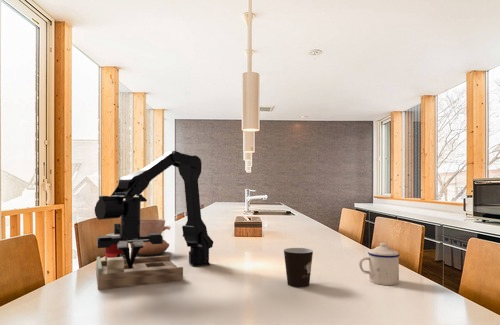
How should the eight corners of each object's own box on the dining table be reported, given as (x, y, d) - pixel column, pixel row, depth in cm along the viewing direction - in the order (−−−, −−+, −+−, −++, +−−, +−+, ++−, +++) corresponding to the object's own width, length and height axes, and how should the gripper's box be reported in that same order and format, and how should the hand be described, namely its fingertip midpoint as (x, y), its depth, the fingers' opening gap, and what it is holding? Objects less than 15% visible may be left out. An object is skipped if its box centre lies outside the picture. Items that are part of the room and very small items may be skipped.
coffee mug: (294, 290, 103) (294, 254, 104) (278, 282, 111) (278, 249, 112) (327, 285, 109) (327, 250, 109) (309, 278, 116) (309, 246, 117)
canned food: (120, 268, 128) (121, 236, 129) (100, 267, 130) (101, 235, 131) (132, 263, 136) (132, 233, 137) (112, 262, 138) (113, 232, 138)
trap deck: (169, 266, 131) (169, 251, 131) (182, 280, 112) (183, 262, 113) (96, 273, 121) (96, 256, 121) (97, 289, 103) (98, 269, 103)
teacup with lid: (393, 278, 117) (393, 241, 118) (404, 286, 108) (403, 246, 109) (355, 277, 118) (355, 240, 118) (363, 285, 109) (362, 245, 109)
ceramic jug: (172, 250, 163) (172, 217, 163) (169, 256, 148) (168, 220, 149) (130, 251, 161) (130, 218, 161) (122, 258, 146) (122, 222, 147)
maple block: (122, 271, 113) (122, 256, 114) (123, 275, 109) (124, 259, 109) (106, 273, 111) (107, 257, 112) (107, 276, 107) (107, 260, 108)
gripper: (156, 213, 124) (156, 260, 123) (96, 216, 116) (95, 266, 116) (163, 216, 114) (162, 267, 113) (98, 219, 106) (97, 274, 105)
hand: (129, 268), depth 112 cm, fingers closed
